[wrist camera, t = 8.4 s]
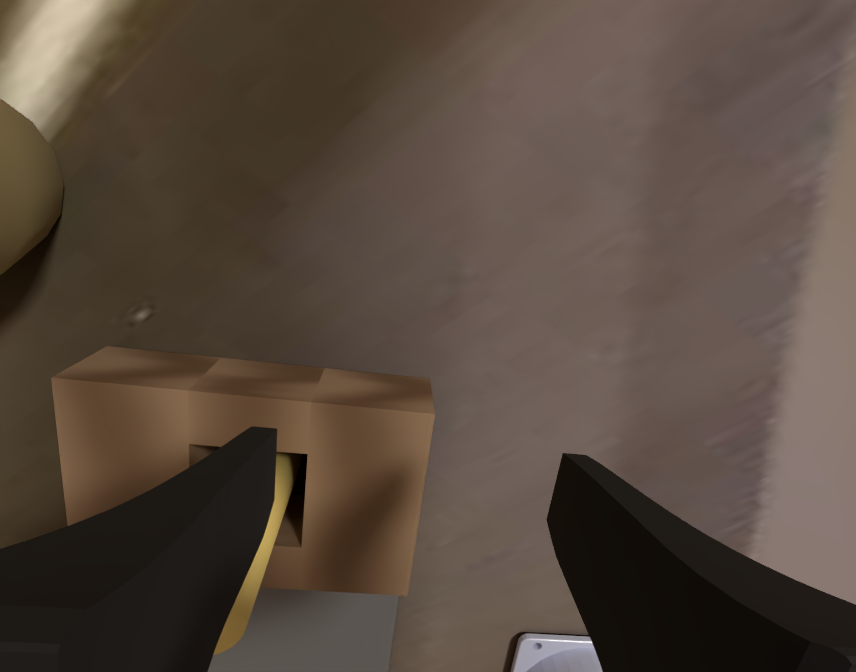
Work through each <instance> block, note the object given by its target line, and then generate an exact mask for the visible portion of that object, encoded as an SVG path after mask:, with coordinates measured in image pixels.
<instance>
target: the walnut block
mask: <svg viewBox="0 0 856 672" xmlns="http://www.w3.org/2000/svg"><path fill="white" fill-rule="evenodd" d="M51 380H52V390H53V399H54V408H55V417H56V426H57V435H58V444H59V453H60V462H61V471H62V480H63V489H64V498H65V507H66V516H67V526H69V525H72V524H74V523H77V522H79V521H82V520H84V519H87V518H89V517H92V516H94V515H97V514H99V513H102V512H104V511H107V510H109V509H111V508H114V507H116V506H118V505H120V504H122V503H124V502H126V501H129V500H131V499H133V498H135V497H137V496H139V495H141V494H143V493H145V492H147V491H149V490H151V489H153V488H155V487H156V486H158V485H160V484H162V483H164V482H165V481H167V480H169V479H170V478H172V477H174V476H175V475H177V474H179V473H181V472H182V471H184V470H186V469H187V468H189V467H191V466H192V465H194V464H196V463H197V462H199V461H200V460H202V459H203V458H205V457H206V456H208V455H209V454H211V453H213V452H214V451H216V450H217V449H219V448H220V447H222V446H223V445H225V444H226V443H227V442H229V441H230V440H232V439H233V438H235V437H236V436H238V435H239V434H241V433H242V432H244V431H245V430H247V429H248V428H250V427H251V426H255V427H266V428H277V450H276V452H288V453H300V454H308V456H307V471H306V487H305V495H300V494H291V495H290V498H289V501H288V504H287V507H286V510H285V513H284V516H283V519H282V522H281V525H280V528H279V531H278V534H277V537H276V540H275V543H274V546H273V549H272V552H271V555H270V558H269V561H268V564H267V567H266V570H265V573H264V576H263V579H262V582H261V585H260V588H277V589H294V590H311V591H328V592H345V593H362V594H379V595H397V596H408V589H409V582H410V576H411V569H412V563H413V556H414V550H415V543H416V536H417V530H418V523H419V517H420V510H421V504H422V497H423V490H424V484H425V477H426V471H427V464H428V457H429V451H430V444H431V438H432V431H433V425H434V418H435V410H434V403H433V397H432V390H431V384H430V379H428V378H418V377H408V376H398V375H388V374H379V373H369V372H359V371H349V370H339V369H329V368H320V367H310V366H300V365H290V364H280V363H270V362H260V361H251V360H241V359H231V358H221V357H211V356H201V355H191V354H182V353H172V352H162V351H152V350H142V349H132V348H122V347H113V346H106V347H105V348H103V349H101V350H99V351H98V352H96V353H94V354H92V355H90V356H89V357H87V358H85V359H83V360H82V361H80V362H78V363H76V364H75V365H73V366H71V367H69V368H67V369H66V370H64V371H62V372H60V373H59V374H57V375H55V376H53V377H51Z"/></svg>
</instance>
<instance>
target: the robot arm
mask: <svg viewBox="0 0 856 672" xmlns="http://www.w3.org/2000/svg"><path fill="white" fill-rule="evenodd" d="M276 450H277V428H266V427H255V426H251V427H250V428H248V429H247V430H245V431H244V432H242V433H241V434H239V435H238V436H236V437H235V438H233V439H232V440H230V441H229V442H227V443H226V444H225V445H223V446H222V447H220V448H219V449H217V450H216V451H214V452H213V453H211V454H209V455H208V456H206V457H205V458H203V459H202V460H200V461H199V462H197V463H196V464H194V465H192V466H191V467H189V468H187V469H186V470H184V471H182V472H181V473H179V474H177V475H175V476H174V477H172V478H170V479H169V480H167V481H165V482H164V483H162V484H160V485H158V486H156V487H155V488H153V489H151V490H149V491H147V492H145V493H143V494H141V495H139V496H137V497H135V498H133V499H131V500H129V501H126V502H124V503H122V504H120V505H118V506H116V507H114V508H111V509H109V510H107V511H104V512H102V513H99V514H97V515H94V516H92V517H89V518H87V519H84V520H82V521H79V522H77V523H74V524H72V525H69V526H67V527H64V528H62V529H59V530H57V531H54V532H51V533H48V534H45V535H42V536H39V537H36V538H33V539H30V540H28V541H24V542H21V543H18V544H15V545H12V546H8V547H5V548H2V549H0V672H208V669H209V666H210V663H211V660H212V657H213V654H214V651H215V648H216V645H217V643H218V640H219V638H220V635H221V633H222V630H223V628H224V625H225V623H226V621H227V618H228V616H229V614H230V612H231V609H232V607H233V605H234V603H235V600H236V598H237V596H238V594H239V592H240V589H241V587H242V585H243V583H244V580H245V578H246V576H247V574H248V571H249V569H250V567H251V565H252V562H253V560H254V558H255V555H256V553H257V551H258V549H259V546H260V544H261V542H262V539H263V537H264V534H265V530H266V527H267V524H268V521H269V517H270V514H271V510H272V507H273V503H274V500H275V475H276ZM547 523H548V527H549V531H550V535H551V539H552V543H553V547H554V550H555V554H556V557H557V559H558V562H559V565H560V567H561V569H562V572H563V574H564V577H565V579H566V582H567V584H568V586H569V589H570V591H571V594H572V596H573V598H574V601H575V603H576V605H577V608H578V610H579V613H580V615H581V617H582V620H583V622H584V624H585V627H586V629H587V631H588V634H589V636H590V637H587V636H568V635H549V634H530V633H527V634H523V635H522V636H520V638H519V639H518V643H517V647H516V651H515V655H514V659H513V663H512V667H511V671H510V672H856V605H855V604H852V603H850V602H847V601H845V600H842V599H839V598H837V597H835V596H832V595H830V594H827V593H825V592H822V591H820V590H817V589H815V588H813V587H810V586H808V585H806V584H803V583H801V582H798V581H796V580H794V579H792V578H790V577H787V576H785V575H783V574H781V573H779V572H777V571H775V570H773V569H771V568H769V567H766V566H764V565H762V564H760V563H758V562H756V561H754V560H752V559H750V558H748V557H746V556H744V555H742V554H740V553H738V552H736V551H735V550H733V549H731V548H729V547H727V546H726V545H724V544H722V543H720V542H718V541H717V540H715V539H713V538H711V537H709V536H708V535H706V534H704V533H703V532H701V531H699V530H697V529H696V528H694V527H693V526H691V525H689V524H688V523H686V522H685V521H683V520H682V519H680V518H678V517H677V516H675V515H674V514H672V513H671V512H669V511H667V510H666V509H664V508H663V507H662V506H660V505H659V504H657V503H656V502H654V501H653V500H651V499H650V498H648V497H647V496H645V495H644V494H643V493H641V492H640V491H638V490H637V489H635V488H634V487H633V486H631V485H630V484H628V483H627V482H626V481H624V480H623V479H621V478H620V477H619V476H617V475H616V474H614V473H613V472H611V471H610V470H609V469H607V468H606V467H604V466H603V465H601V464H600V463H598V462H597V461H595V460H593V459H592V458H590V457H588V456H586V455H578V454H567V453H563V455H562V459H561V463H560V467H559V471H558V475H557V479H556V483H555V488H554V492H553V496H552V500H551V504H550V508H549V512H548V516H547Z"/></svg>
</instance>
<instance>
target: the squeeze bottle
mask: <svg viewBox="0 0 856 672" xmlns="http://www.w3.org/2000/svg"><path fill="white" fill-rule="evenodd" d="M63 188H64V183H63V180H62V176H61V173H60V170H59V166H58V163H57V160H56V157H55V153H54V151H53V150H52V148H51V147H50V146H49V144H48V143H47V141H46V140H45V139H44V137H43V136H42V135H41V133H40V132H39V130H38V129H37V128H36V126H35V125H34V123H33V122H32V121H30V120H29V119H28V118H26V117H25V116H23V115H22V114H21V113H19V112H18V111H17V110H15V109H14V108H13V107H11V106H10V105H9V104H7V103H6V102H5V101H3V100H2V99H0V275H1V274H3V273H4V272H5V271H6V270H8V269H9V268H10V267H11V266H12V265H13V264H15V263H16V262H17V261H18V260H19V259H21V258H22V257H23V256H24V255H25V254H26V253H28V252H29V251H30V250H31V249H32V248H34V247H35V246H36V245H37V244H38V243H39V242H41V241H42V240H43V239H44V238H45V237H47V235H48V233H49V232H50V230H51V229H52V227H53V225H54V224H55V222H56V221H57V219H58V217H59V216H60V214H61V209H62V198H63Z"/></svg>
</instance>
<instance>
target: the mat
mask: <svg viewBox="0 0 856 672" xmlns="http://www.w3.org/2000/svg"><path fill="white" fill-rule="evenodd" d="M398 599H399V596H397V595H379V594H362V593H345V592H328V591H311V590H294V589H277V588H259V591H258V594H257V597H256V600H255V603H254V606H253V609H252V612H251V615H250V618H249V621H248V624H247V627H246V630H245V632H244V634H243V636H242V637H241V639H240V640H239V641H238V642H237V643H236V644H235V645H234V646H233V647H231V648H229V649H228V650H226V651H224V652H221V653H219V654H215V655H213V657H212V660H211V663H210V666H209V669H208V672H388V668H389V661H390V654H391V647H392V640H393V633H394V627H395V620H396V613H397V606H398Z"/></svg>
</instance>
